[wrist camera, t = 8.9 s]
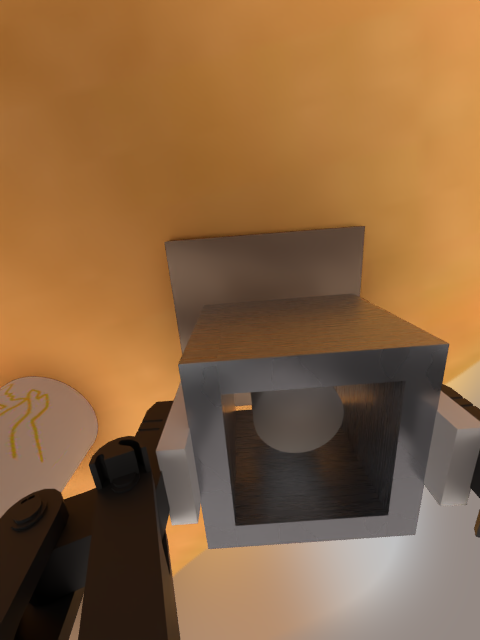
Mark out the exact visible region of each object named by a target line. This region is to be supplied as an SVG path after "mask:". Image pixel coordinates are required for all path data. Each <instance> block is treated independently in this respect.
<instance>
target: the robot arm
mask: <svg viewBox="0 0 480 640" xmlns="http://www.w3.org/2000/svg"><path fill="white" fill-rule="evenodd" d="M89 467H90V470H91V473H92V476H93V479H94V482H95V485H96V488H94V489H92V490H90V491H87V492H84V493H81V494H78V495H76V496H73V497H70V498H67V499H63V497H62V494H61V492H59V491H58V490H56V489H42V490H39V491H36V492H33V493H31V494H29V495H27V496H26V497H24V498H22V499H20V500H19V501H18V502H16V503H15V504H14V505H13V506H11V507H10V508H9V509H8V510H7V511H6V512H5V513H4V515H3V516H2V517H1V518H0V640H69V636H70V634H71V631H72V628H73V624H74V622H75V618H76V615H77V612H78V609H79V606H80V603H81V600H82V597H83V594H84V598H83V606H82V613H81V621H80V630H79V637H78V640H180V633H179V625H178V617H177V609H176V602H175V594H174V586H173V578H172V570H171V562H170V554H169V546H168V539H167V535H166V530H165V529H166V525H167V520H168V516H169V514H170V518H171V523H172V525H181V524H195V523H198V519H199V511H200V503H201V496H200V490H199V484H198V477H197V471H196V465H195V459H194V453H193V446H192V440H191V434H190V428H189V427H188V421H187V415H186V409H185V403H184V396H183V390H182V384H181V382H180V385H179V388H178V390H177V393H176V396H175V399H174V401H164V402H156V403H155V404H154V405H153V406H152V407H151V408H150V409H149V410H148V411H147V413H146V415H145V417H144V419H143V421H142V423H141V425H140V427H139V429H138V432H137V433H136V435H135V437H134V436H126V437H121V438H117V439H115V440H113V441H110V442H108V443H107V444H105V445H104V446H103V447H101V448H100V449H99V450H98V451H97V452H96V453H95V454H94V455H93V456H92V458H91V461H90V463H89ZM424 485H425V486H426V488H427V489H428V490H429V492H430V493H431V494H432V496H433V497H434V498H435V500H436V501H437V502H438V504H439V505H440V506H453V505H466V504H467V501H468V498H469V494H470V490H471V489H472V490H473V491H474V492H475V493H476V494H477V496H478V497H479V498H480V409H479V408H477V407H476V406H473V404H472V403H471V402H469V401H468V400H466V399H465V398H464V399H463V397H462V396H461V395H460V394H458V393H457V392H456V391H454V390H453V389H452V388H450V387H448V386H446V385H443V384H442V387H441V393H440V398H439V404H438V410H437V411H436V417H435V423H434V428H433V434H432V439H431V445H430V450H429V456H428V462H427V467H426V473H425V478H424ZM474 530H475V535H476V537H480V510H479V514H478V517H477V520H476V524H475V527H474Z"/></svg>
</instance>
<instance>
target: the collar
mask: <svg viewBox="0 0 480 640" xmlns="http://www.w3.org/2000/svg"><path fill="white" fill-rule="evenodd" d="M448 348H449V343H447V342H445V341H443V340H441V339H439V338H437V337H435V336H433V335H432V334H430V333H428V332H426V331H424V330H422V329H420V328H418V327H416V326H414V325H412V324H411V323H409V322H407V321H405V320H403V319H401V318H399V317H397V316H395V315H393V314H391V313H390V312H388V311H386V310H384V309H382V308H380V307H378V306H376V305H374V304H372V303H370V302H368V301H367V300H365V299H363V298H361V297H359V296H357V295H355V294H353V293H351V294H338V295H325V296H312V297H299V298H286V299H274V300H261V301H248V302H235V303H222V304H209V305H204V306H203V308H202V311H201V313H200V315H199V318H198V320H197V322H196V325H195V327H194V329H193V331H192V334H191V336H190V338H189V341H188V343H187V345H186V348H185V350H184V352H183V354H182V357H181V359H180V361H179V364H178V366H179V372H180V378H181V384H182V390H183V396H184V403H185V409H186V415H187V421H188V427H189V428H190V434H191V440H192V446H193V453H194V459H195V465H196V471H197V477H198V484H199V490H200V496H201V506H202V512H203V518H204V525H205V531H206V537H207V543H208V549H216V548H231V547H244V546H259V545H274V544H289V543H302V542H317V541H331V540H346V539H361V538H374V537H388V536H389V537H390V536H404V535H415V533H416V527H417V522H418V515H419V510H420V505H421V499H422V493H423V488H424V478H425V473H426V467H427V462H428V456H429V450H430V445H431V439H432V434H433V428H434V423H435V417H436V411H437V410H438V404H439V398H440V393H441V387H442V382H443V376H444V370H445V365H446V359H447V354H448ZM330 386H333V387H334V389H335V390H336V392H337V393H338V395H339V397H340V399H341V401H342V404H343V408H344V416H343V421H342V424H341V426H340V428H339V430H338V432H337V433H336V434H335V435H334V437H333V438H332V439H331V440H329V441H328V442H327V443H326V444H324V445H322V446H321V447H318V448H316V449H314V450H311V451H307V452H301V453H288V452H283V451H279V450H276V449H274V448H272V447H270V446H269V445H267V444H266V443H265V442H264V441H263V440H262V439H261V438H260V437H259V435H258V434H257V432H256V430H255V426H254V421H253V411H252V410H240V411H236V410H235V400H234V394H236V393H250V392H263V391H276V390H290V389H303V388H316V387H330Z"/></svg>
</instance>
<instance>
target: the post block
mask: <svg viewBox="0 0 480 640" xmlns="http://www.w3.org/2000/svg"><path fill="white" fill-rule="evenodd" d="M364 232H365V226H354V227H342V228H329V229H316V230H303V231H291V232H278V233H265V234H253V235H240V236H227V237H214V238H202V239H189V240H176V241H167V242H165V249H166V255H167V261H168V267H169V274H170V280H171V286H172V293H173V299H174V305H175V311H176V318H177V324H178V330H179V336H180V343H181V349H182V354H183V352H184V350H185V348H186V345H187V343H188V341H189V338H190V336H191V334H192V331H193V329H194V327H195V325H196V322H197V320H198V318H199V315H200V313H201V311H202V308H203V306H204V305H209V304H222V303H235V302H248V301H261V300H274V299H286V298H299V297H312V296H325V295H338V294H351V293H353V294H355V295H357V296H359V297H360V288H361V274H362V260H363V246H364ZM234 400H235V406H244V405H252V411H253V421H254V426H255V430H256V432H257V434H258V435H259V437H260V438H261V439H262V440H263V441H264V442H265V443H266V444H267V445H269V446H270V447H272V448H274V449H276V450H279V451H283V452H288V453H301V452H307V451H311V450H314V449H316V448H318V447H321V446H322V445H324V444H326V443H327V442H328V441H329V440H331V439H332V438H333V437H334V435H335V434H336V433H337V432H338V430H339V428H340V426H341V424H342V421H343V416H344V408H343V404H342V401H341V399H340V397H339V395H338V393H337V392H336V390H335V389H334V387H333V386H330V387H316V388H303V389H290V390H276V391H263V392H250V393H236V394H234Z"/></svg>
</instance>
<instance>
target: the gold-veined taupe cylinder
mask: <svg viewBox="0 0 480 640" xmlns="http://www.w3.org/2000/svg"><path fill="white" fill-rule="evenodd" d="M97 432H98V422H97V418H96V415H95V412H94V410H93V408H92V407H91V405H90V404H89V402H88V401H87V400H86V399H85V398H84V397H83V396H82V395H81V394H80V393H79V392H77V391H76V390H75V389H73V388H72V387H70V386H68V385H66V384H64V383H62V382H59V381H57V380H54V379H50V378H45V377H24V378H19V379H16V380H13V381H11V382H9V383H7V384H6V385H5V386H3V387H2V388H0V518H1V517H2V516H3V515H4V513H5V512H6V511H7V510H8V509H9V508H10V507H11V506H13V505H14V504H15V503H16V502H18V501H19V500H20V499H22V498H24V497H26V496H27V495H29V494H31V493H33V492H36V491H39V490H42V489H56V490H58V491H59V492H62V490H63V489H64V487H65V486H66V484H67V483H68V481H69V480H70V478H71V477H72V475H73V474H74V472H75V471H76V469H77V467H78V466H79V464H80V463H81V461H82V460H83V458H84V457H85V455H86V454H87V452H88V451H89V449H90V448H91V446H92V445H93V443H94V441H95V439H96V437H97Z"/></svg>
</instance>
